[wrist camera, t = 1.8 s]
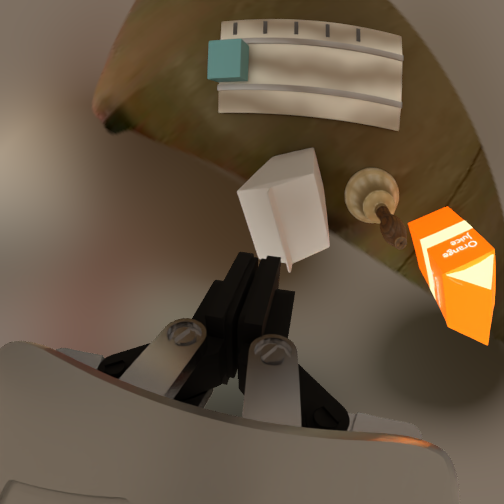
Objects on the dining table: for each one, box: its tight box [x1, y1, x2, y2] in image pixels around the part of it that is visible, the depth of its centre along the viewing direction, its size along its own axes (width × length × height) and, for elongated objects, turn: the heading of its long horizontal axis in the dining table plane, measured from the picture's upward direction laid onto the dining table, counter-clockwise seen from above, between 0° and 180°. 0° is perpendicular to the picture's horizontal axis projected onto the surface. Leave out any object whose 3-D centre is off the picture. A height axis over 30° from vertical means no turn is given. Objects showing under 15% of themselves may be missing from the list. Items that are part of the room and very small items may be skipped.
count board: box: [217, 19, 403, 131], centre depth 28 cm, size 14×24×3 cm, turn 88°
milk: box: [237, 147, 330, 272], centre depth 27 cm, size 6×6×22 cm
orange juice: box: [408, 206, 495, 345], centre depth 28 cm, size 8×9×20 cm
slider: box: [207, 39, 249, 82], centre depth 27 cm, size 5×4×4 cm
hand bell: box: [344, 168, 407, 249], centre depth 29 cm, size 8×8×16 cm
